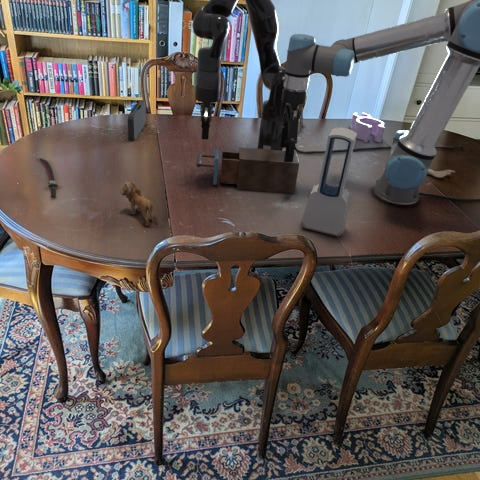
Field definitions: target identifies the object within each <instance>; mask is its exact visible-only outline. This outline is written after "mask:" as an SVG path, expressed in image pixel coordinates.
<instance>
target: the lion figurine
mask: <svg viewBox="0 0 480 480" xmlns="http://www.w3.org/2000/svg"><path fill="white" fill-rule="evenodd" d="M119 193H120V194H121V196H122V197H124V196H125V198H126V199H127V200H128V202H129V203H130V207H131V211H130V212H129V213H130V215H135V214H136V211H137V212H141V214H142V216H143V218H144V219H145V223H144V225H145V227H149V226H150V221H152V223H153V225H155V226H159V222H156V221H155V219H154V217H153V216H154V215H153V204H152V202H151V200H150V199H148V198H146V197H145V196H144V195H143V194H142V192H141V190H140V187H138V185H136V184H135V183H133V182H132V181H125V182H124V186H122V188H121V189H119ZM136 207H137V208H136ZM148 214H149V216H148Z"/></svg>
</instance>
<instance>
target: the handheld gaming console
mask: <svg viewBox="0 0 480 480" xmlns="http://www.w3.org/2000/svg"><path fill="white" fill-rule="evenodd" d="M146 103H147V102H146V100H144V99H143V100H142V99H140V100H138V102H137V103H135V105H134V107H133V108H132V109H131V110H130V112H129V113H128V115H127V138H128V140H130V141H135V140H137V138H138V136H139V134H140V133H141V132H142V130H143V128H144V126H145V125H146V122H147V107H146V106H147V104H146Z"/></svg>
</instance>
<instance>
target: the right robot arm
mask: <svg viewBox="0 0 480 480" xmlns="http://www.w3.org/2000/svg"><path fill="white" fill-rule="evenodd" d="M445 42H446V43H447V44H446V46H445V47H446V50H447V56H446V58H445V60H444V62H443V64H442V66H441V68H440V70H439V72H438V73H437V76H436V78H435V80H434V82H433V83H432V85H431V88H430V90H429V91H428V93H427V95H426V97H425V99H424V101H423V103H422V104H421V106H420V109H419V111H418V113H417V115H416V116H415V118H414V121H413V122H412V124H411V127H410V128H409V130H405V129H403V130H402V129H400V130H397V131H396V132H395V134H394V137H392V143H391V146H392V147H391V148H390V150H389V154H388V158H387V160H386V164H385V168H384V171H383V173H382V175H381V176H380V178H379V179H377V180H376V182H375V185H374V187H373V191H372V193H373V195H374V196H375V197H376V198H377V199H378V200H380V201H382V202H383V203H385V204H388V205H390V206H391V205H392V206H396V207H412V206H415V205H417V203H418V201H419V199H420V196H423V197H432V198H440V199H446V200H450V201H456V202H480V198H461V197H453V196H448V195H443V194H436V193H429V192H420V186H421V185H422V184H423V183H424V182H425V180H426V178H427V175H428V174H427V170H428V168H429V169H430V166H431V164H432V163H433V161H434V159H435V158H436V155H437V153H438V152H437V148H435V146H437V144H438V141H439V139H440V138H441V136H442V134H443V132H444V130H445V128H446V126H447V125H448V123H449V122H450V120H451V119H452V116H453V115H454V113H455V111H456V109H457V107H458V106H459V104H460V102H461V101H462V98H463V97H464V95H465V93H466V91H467V89H468V87H469V85H470V84H471V82H472V80H473V79H474V77H475V75H476V73H477V72H478V70H479V68H480V0H468V1H465V2H463V3H460V4H457V5H454V6H450V7H447V8H446V9H445V10H444V12H443V13H439V14H435V15H431V16H427V17H424V18H420V19H416V20H412V21H410V22H409V21H408V22H405V23H402V24H397V25H395V26H391V27H387V28H383V29H380V30H376V31H372V32H368V33H365V34H361V35H358V36H354V37H350V38H345V39H343V38H342V39H338V40H335V41H334V42H333V43H332V44H331V45H330V46H329V45H321V44H317V43H316V37H315V36H313V35H310V34H305V33H295V34H292V35H291V36H290V37H289V42H288V47H287V50H286V51H287V52H286V63H285V68H286V71H285V77H283V78H282V80H284V87H285V88H284V89H283V92H282V101H283V102H285V103H286V106H285V111H284V115H283V120H282V123H283V124H282V125H283V127H282V134H281V141H280V146H286V148H285V150H284V151H285V158H284V162H293V157H294V152H295V146H296V144H298V133H299V123H298V122H300V119H299V118H300V111H299V110H300V108H298V107H299V106H301V104H303V105H304V104H306V101H307V94H308V91H307V90H308V89H309V82H310V77H311V76H310V75H311V72H313V73H320V74H325V75H329V76H335V77H350V75H351V73H352V71H353V70H352V69H353V66H354V64H358V63H361V62H365V61H369V60H373V59H378V58H381V57H386V56H390V55H394V54H399V53H403V52H407V51H412V50H415V49H419V48H423V47H427V46H433V45H436V44H440V43H445Z"/></svg>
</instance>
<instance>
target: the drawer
mask: <svg viewBox="0 0 480 480" xmlns="http://www.w3.org/2000/svg"><path fill="white" fill-rule="evenodd" d="M219 152H220V149H219V148H214V154H213V155H212V154H211V155H210V154H202V153H200V152H199V153H197V157H196V167H197V168H201V167H205V168H206V167H207V168H213V177H212V185H215V186H216V185H218V184H217V183H218V169H219V154H220V153H219ZM221 155H222V157H221V166H220V167H221V170H220V184H228V185H236V184H237V179H238V169H239V151H229V150H222V154H221ZM202 158H211V159H214V160H213V161H214V163H213V164H209V163H208V164H207V163H202Z"/></svg>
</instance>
